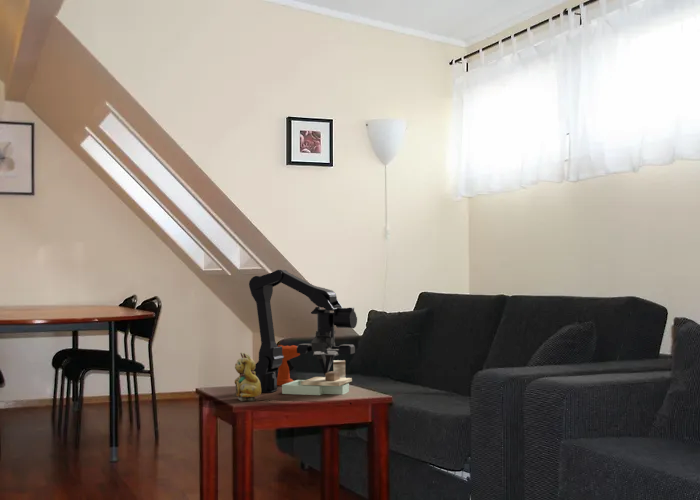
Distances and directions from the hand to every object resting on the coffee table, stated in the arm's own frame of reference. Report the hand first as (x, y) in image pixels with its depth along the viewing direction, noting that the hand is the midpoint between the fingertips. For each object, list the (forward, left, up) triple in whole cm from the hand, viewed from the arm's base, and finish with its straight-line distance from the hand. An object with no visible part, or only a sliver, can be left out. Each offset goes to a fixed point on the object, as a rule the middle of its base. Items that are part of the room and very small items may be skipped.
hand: (325, 375), depth 282 cm
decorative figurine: (-21, -16, -7) cm, 27 cm away
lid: (0, 0, -2) cm, 3 cm away
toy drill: (-19, +23, -7) cm, 31 cm away
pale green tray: (-3, 0, -7) cm, 7 cm away
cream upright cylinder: (0, +14, -7) cm, 16 cm away
